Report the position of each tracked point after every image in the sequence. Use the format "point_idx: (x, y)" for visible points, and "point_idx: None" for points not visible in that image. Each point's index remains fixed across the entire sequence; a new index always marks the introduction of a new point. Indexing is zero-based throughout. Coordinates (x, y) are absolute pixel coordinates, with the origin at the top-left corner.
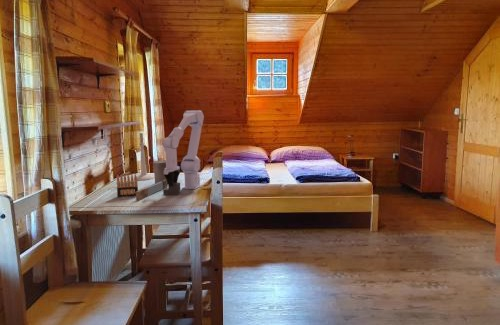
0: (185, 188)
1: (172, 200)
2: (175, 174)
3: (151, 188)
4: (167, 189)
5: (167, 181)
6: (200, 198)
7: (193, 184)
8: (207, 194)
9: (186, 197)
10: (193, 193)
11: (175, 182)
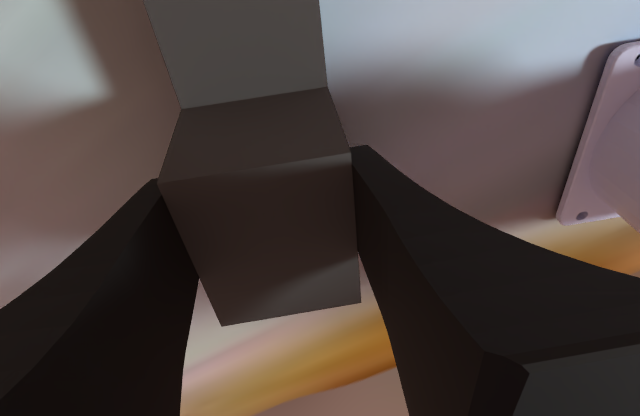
0: (593, 106)
1: (11, 281)
2: (421, 411)
3: None
4: (215, 58)
5: (86, 250)
6: (231, 396)
7: (631, 224)
8: (365, 376)
9: (201, 317)
10: (371, 289)
11: (344, 238)
